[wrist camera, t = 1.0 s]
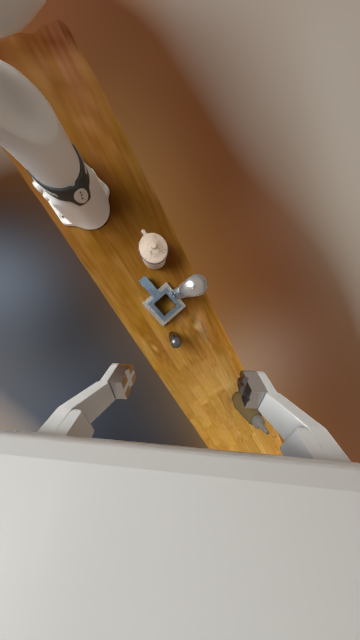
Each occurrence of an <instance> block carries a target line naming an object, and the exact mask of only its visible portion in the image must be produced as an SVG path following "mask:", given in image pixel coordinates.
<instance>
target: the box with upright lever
mask: <svg viewBox="0 0 360 640" xmlns="http://www.w3.org/2000/svg"><path fill="white" fill-rule="evenodd" d="M139 282H140V283H141V284H142V285H143V287H144V288H145V289H146V290H147V291H148V292H149V293H150V294H151V296H150V297H149V298H147V299H146V300H145V301H144V302H143V303H142V304H143V305H144V306H145V307H146V308H147V309H148V311H149V312H150V313H151V314H152V315H153V316H154V317H155V318H156V319H157V320H158V321H159V322H160V324H161V325H162V326H164V325H165V324H166V323H167V322H169V321H170V320H171V319H172V318H173V317H174V316H175V315H176V314H178V313H179V312H180V311H181V310H182V309H183V308H184V307H186V305H185V304H184V303H183V301H182V300H181V299H180V298H187V297H194V296H200V295H202V294H204V293H205V291H206V289H207V281H206V279H205V277H204V276H202V275H200V274H194V275H192V276H190V277H189V278H188V279H186V280H185V281H184V282H182V283H181V284H180V285H179V286H177V287H176V288H175V289H172V288H171V287H170V286H169V284H168V283H167V282H166V283H165V284H164V285H162V286H161V287H160V288H159V289H158V290H157V289H156V287H155V286H154V285H153V284H152V283H151V282H150V281H149V279H148V278H147V277H146V276H144V277H143V278H142V279H140V280H139ZM164 294H166V295H167V297H168V298H169V299H170V300H171V301H172V302H173V304H174V305H175V306H174V307H173V308H171V309H170V310H169V311H168V312H167V313H166V314H165V315H163V314H162V312H161V311H160V310H159V309H158V308H157V307H156V306H155V305H154V303H155V302H156V301H158V300H159V299H160V298H161V297H162V296H163V295H164Z"/></svg>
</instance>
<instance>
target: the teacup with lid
mask: <svg viewBox="0 0 360 640" xmlns="http://www.w3.org/2000/svg"><path fill="white" fill-rule="evenodd" d="M141 233H142V236H143V237H142V238H141V240H140V242H139V253H140V255H141V257H142V259H143V262H144V264H145V265H146V266H147V267H148V268H150V269H153V270H157V269H160V268H162V267H163V266H164V264H165V261H166V257H167V255H168V245H167V243H166V241H165V240H164V238H163V237H162V236H160V235H159V234H156V233H148V234H147V232H146V231H145V230H144V229H143V230H141Z"/></svg>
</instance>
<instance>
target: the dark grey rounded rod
mask: <svg viewBox="0 0 360 640" xmlns="http://www.w3.org/2000/svg"><path fill="white" fill-rule="evenodd" d="M169 339H170V342H171V345H172V347H174V348H178V347H180V345H181V341H180V339H179V337H178V336H177V334H176V333H175V332H171V333H170V334H169Z"/></svg>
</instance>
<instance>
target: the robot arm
mask: <svg viewBox="0 0 360 640" xmlns="http://www.w3.org/2000/svg"><path fill="white" fill-rule="evenodd" d="M46 1H47V0H0V39H1V38H3V37H6V36H9V35H12V34H15V33H18V32H21V31H22V30H23V28H24V27H25V26H26V25H27V24H28V23H29V22H30V21H31V20H32V19H33V18H34V17H35V15H36V14H37V13H38V12H39V10H40V9H41V8H42V7H43V5H44V4H45V3H46ZM0 145H1V146H3V147H4V148H5V149H6V150H7V151H8V152H9V153H10V154H11V155H12V156H13V157H15V158H16V159H17V160H18V161H19V162H20V163H21V164H22V165H23V166H24V167H25V168H26V169H27V171H28V172H29V174H30V175H31V176H32V178H33V179H34V182H33V185H34V186H35V187H36V189H37V190H38V191H39V192H40V193H43V196H44V198H45V199H46V200H47V201H48V202H49V203H50V205H51V206H52V208H53V209H54V211H55V212H56V214H57V215H58V217H59V218H60V220H61V221H62V223H63V224H64V225H66V226H77V227H80V228H83V229H97V228H99V227H101V226H103V225H104V224H105V223H106V221H107V219H108V217H109V213H110V207H109V201H108V198H109V194H110V190H109V188H108V186H107V185H106V184H105V183H104V182H102V181H101V180H100V179H99V178H98V177H97V175H96V173H95V171H94V170H93V169H92V168H90V167H89V166H88V165H87V164H86V163H85V162H84V161H83V159H82V157H81V155H80V154H79V152H78V151H77V149H76V148H75V146H74V145H73V144H72V143H71V142H70V140H69V138H68V136H67V134H66V133H65V131H64V129H63V127H62V125H61V123H60V122H59V120H58V118H57V116H56V114H55V112H54V111H53V109H52V107H51V105H50V104H49V102H48V101H47V99H46V98H45V97H44V96H43V94H42V93H41V92H40V91H39V90H38V89H37V88H36V87H35V86H34V85H33V84H32V83H31V82H30V81H29V80H28V79H27V78H26V77H25V76H24V75H23V74H21V73H20V72H19V71H18V70H16V69H15V68H14V67H12V66H11V65H9V64H7V63H5V62H3V61H1V60H0ZM63 217H64V218H63ZM133 369H134V367H133V365H130V364H117V363H113V364H112V365H111V366H110V367H109V369H108V370H107V372H106V373H105V374H104V376H103V377H102V379H101V380H100V381H99V382H96V383H94V384H93V385H91V386H90V387H88V388H87V389H85V390H84V391H82V392H81V393H79V394H78V395H76V396H75V397H73V398H72V399H70V400H69V401H67V402H66V403H64V404H62V405H61V406H60V407H58V408H57V409H56V410H55V412H54V413H53V414H52V415H51V416H50V417H49V419H48V420H47V421H46V422H45V424H44V425H43V426H42V427H41V428H40V429H39V430H38V432H37V433H34V432H22V431H12V430H1V429H0V640H360V463H353V462H351V461H350V460H349V458H348V457H347V456H346V454H345V453H344V452H343V450H342V449H341V448H340V447H339V445H338V444H337V443H336V441H335V440H334V439H333V437H332V436H331V435H330V434H329V432H328V431H327V430H326V429H325V428H324V427H323V426H321V425H320V424H319V423H318V422H316V421H315V420H314V419H312V418H311V417H310V416H308V415H307V414H306V413H305V412H303V411H302V410H301V409H299V408H298V407H297V406H295V405H294V404H293V403H291V402H290V401H289V400H288V399H286V398H285V397H284V396H282V395H281V394H280V393H277V392H276V390H275V389H274V387H273V386H272V384H271V382H270V381H269V379H268V377H267V376H266V374H265V373H264V372H262V371H243V370H241V371H240V377H239V378H238V380H237V386H238V390H239V392H240V393H241V394H242V397H241V398H242V401H243V404H244V407H245V408H253V409H258V411H259V412H260V413H261V414H262V415H263V416H264V417H265V418H266V420H267V421H268V422H269V423H270V424H271V425H272V426H273V428H274V429H275V430H276V431H277V432H278V433H279V434H280V435H281V437H282V438H283V439H284V440H285V442H284V443H283V444H282V445H281V446H280V450H281V453H282V455H283V456H279V455H269V454H258V453H247V452H237V451H226V450H215V449H204V448H194V447H182V446H173V445H162V444H151V443H140V442H130V441H118V440H109V439H98V438H91V437H92V435H93V433H94V429H93V428H92V426H91V425H90V423H91V422H92V421H94V420H95V419H96V418H97V416H99V415H100V414H101V413H102V412H103V411H104V410H105V409H106V408H107V407H108V406H109V405H110V404H111V403H112V402H113V401H114V400H115V399H127V397H128V395H129V393H130V387H131V386H132V385H133V383H134V381H135V372H134V371H133Z"/></svg>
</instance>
